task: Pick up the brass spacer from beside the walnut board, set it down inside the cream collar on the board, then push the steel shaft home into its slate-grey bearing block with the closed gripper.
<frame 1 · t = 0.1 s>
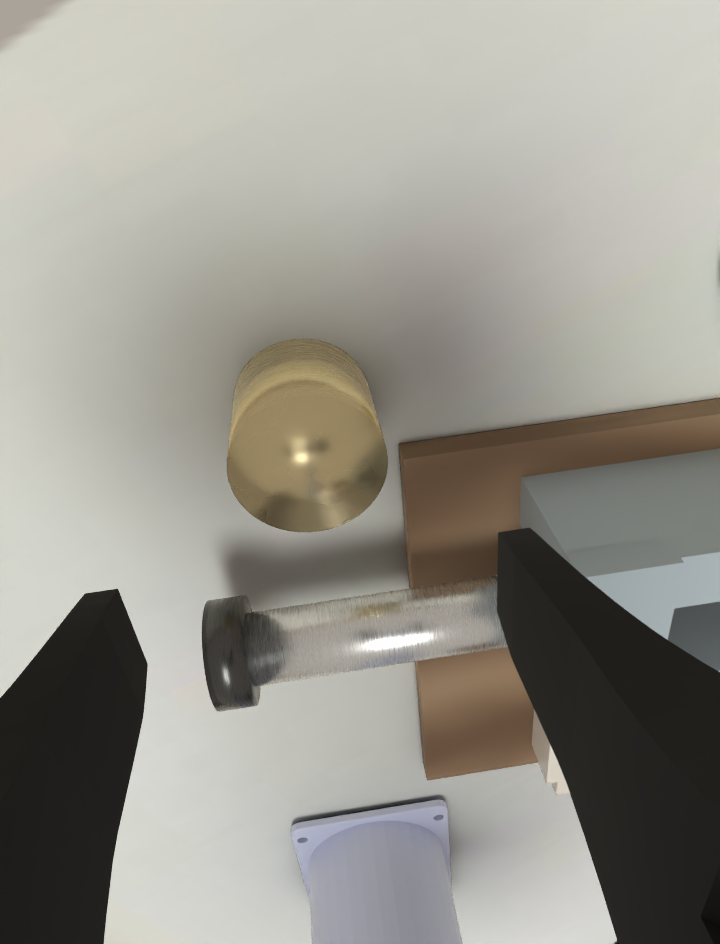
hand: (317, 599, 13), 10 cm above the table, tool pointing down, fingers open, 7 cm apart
shaft: (408, 625, 23), point 3 cm above the table, slide at 7.0 cm
brass spacer: (302, 403, 22), on the table
bearing block: (648, 538, 25), resting on walnut board
walnut board: (601, 601, 28), on the table
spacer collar: (622, 688, 30), resting on walnut board
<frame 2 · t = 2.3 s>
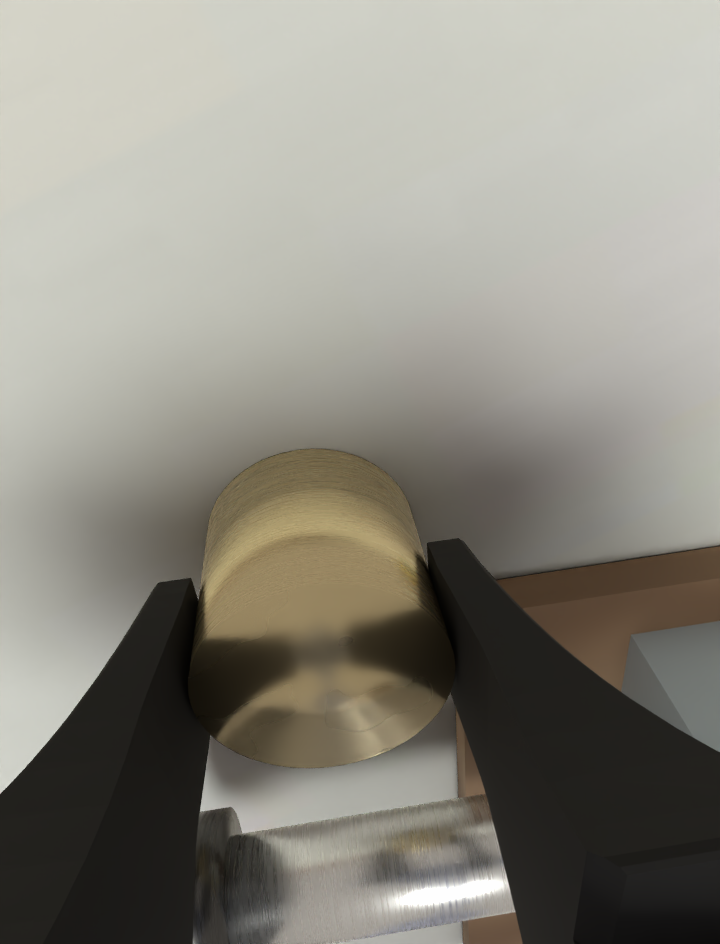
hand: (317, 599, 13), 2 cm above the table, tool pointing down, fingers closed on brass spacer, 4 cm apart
shaft: (467, 855, 15), point 4 cm above the table, slide at 7.0 cm
brass spacer: (311, 537, 15), on the table, touching gripper
walnut board: (712, 764, 21), on the table
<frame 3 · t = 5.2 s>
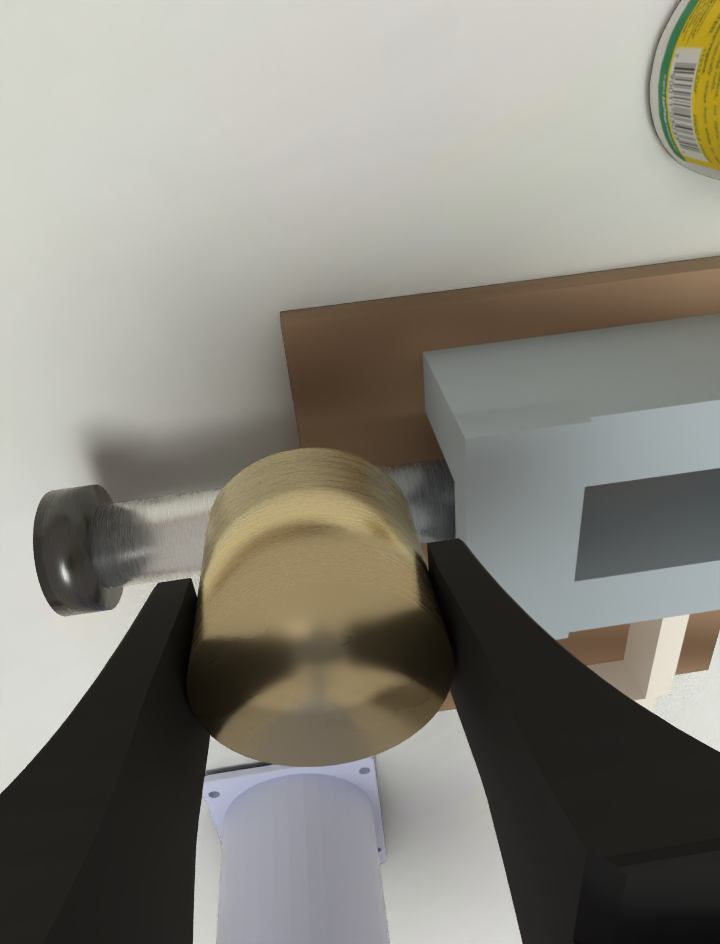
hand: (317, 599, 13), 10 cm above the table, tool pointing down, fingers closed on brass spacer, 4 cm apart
shaft: (289, 520, 20), point 3 cm above the table, slide at 7.0 cm
brass spacer: (310, 536, 14), point 8 cm above the table, touching gripper
bearing block: (577, 434, 22), resting on walnut board
walnut board: (531, 517, 25), on the table
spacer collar: (559, 619, 27), resting on walnut board
when the fingers open (4 cm above the table, at t = 8.0 s): brass spacer drops 1 cm, resting on walnut board.
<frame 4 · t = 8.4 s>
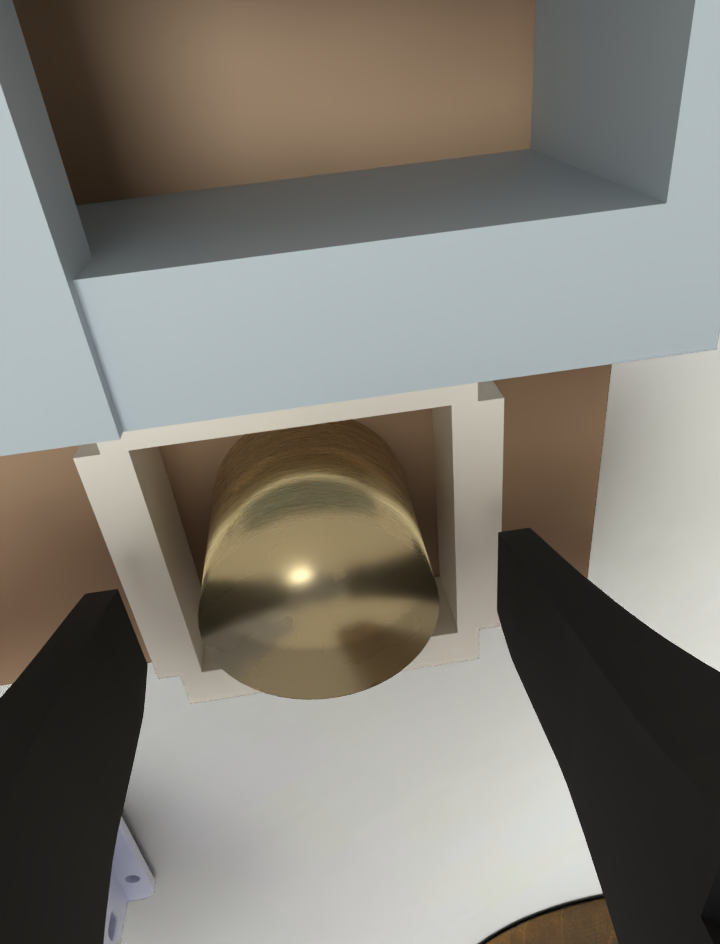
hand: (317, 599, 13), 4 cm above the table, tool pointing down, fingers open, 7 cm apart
brass spacer: (310, 496, 16), point 1 cm above the table, touching walnut board
bearing block: (237, 79, 11), resting on walnut board
walnut board: (229, 303, 14), on the table
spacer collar: (308, 498, 16), resting on walnut board
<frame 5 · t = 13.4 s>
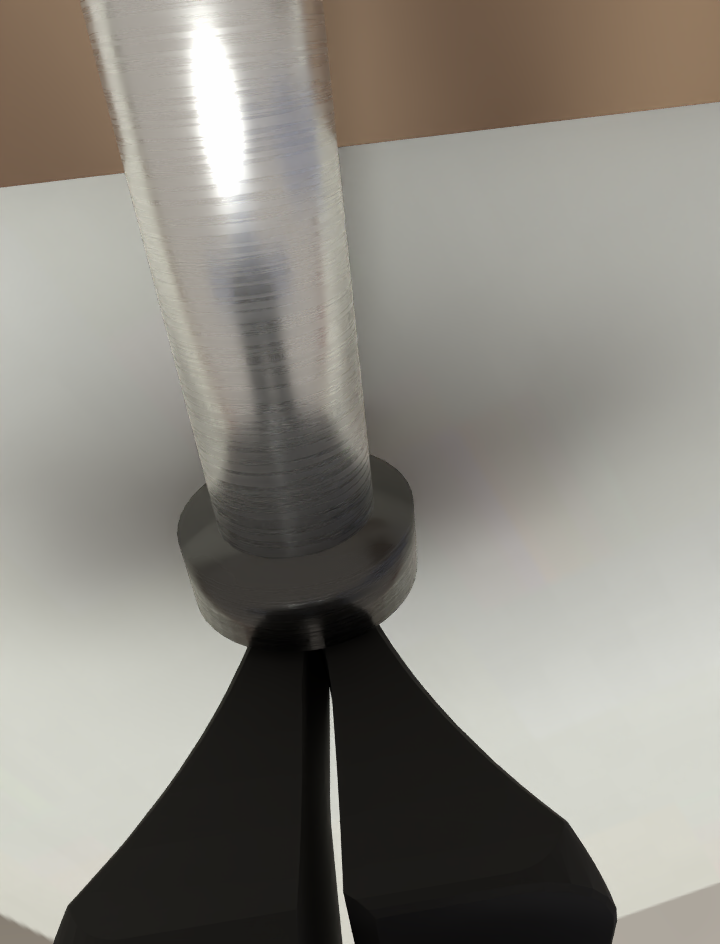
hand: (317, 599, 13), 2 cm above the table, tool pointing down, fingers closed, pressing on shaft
shaft: (225, 116, 7), point 3 cm above the table, slide at 5.7 cm, touching gripper
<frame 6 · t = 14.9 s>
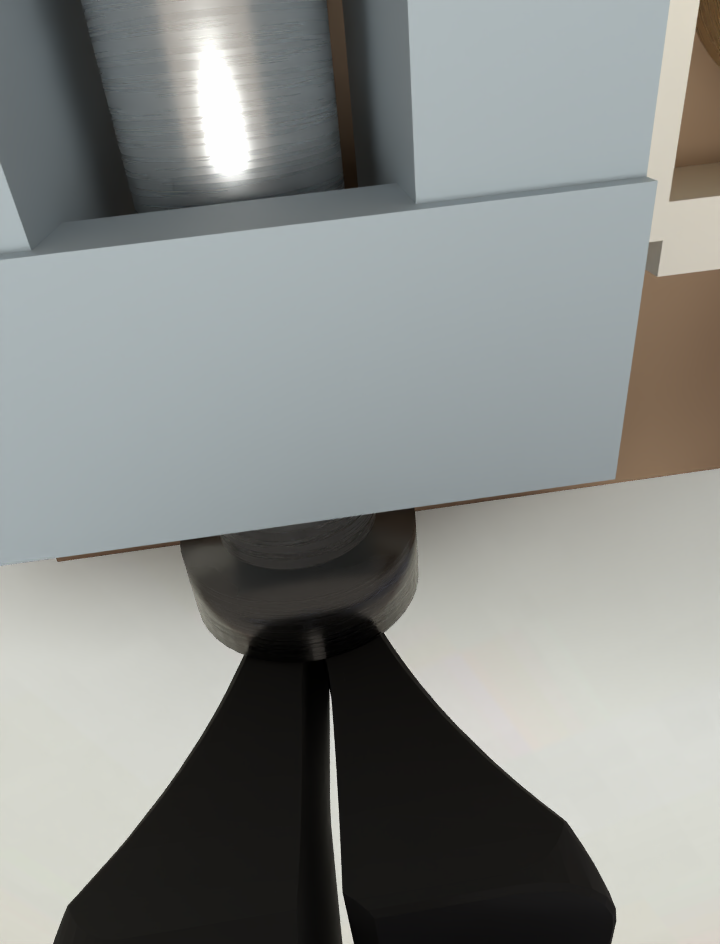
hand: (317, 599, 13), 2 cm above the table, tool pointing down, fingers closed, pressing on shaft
shaft: (230, 132, 7), point 4 cm above the table, slide at -1.0 cm, touching gripper
walnut board: (496, 35, 10), on the table
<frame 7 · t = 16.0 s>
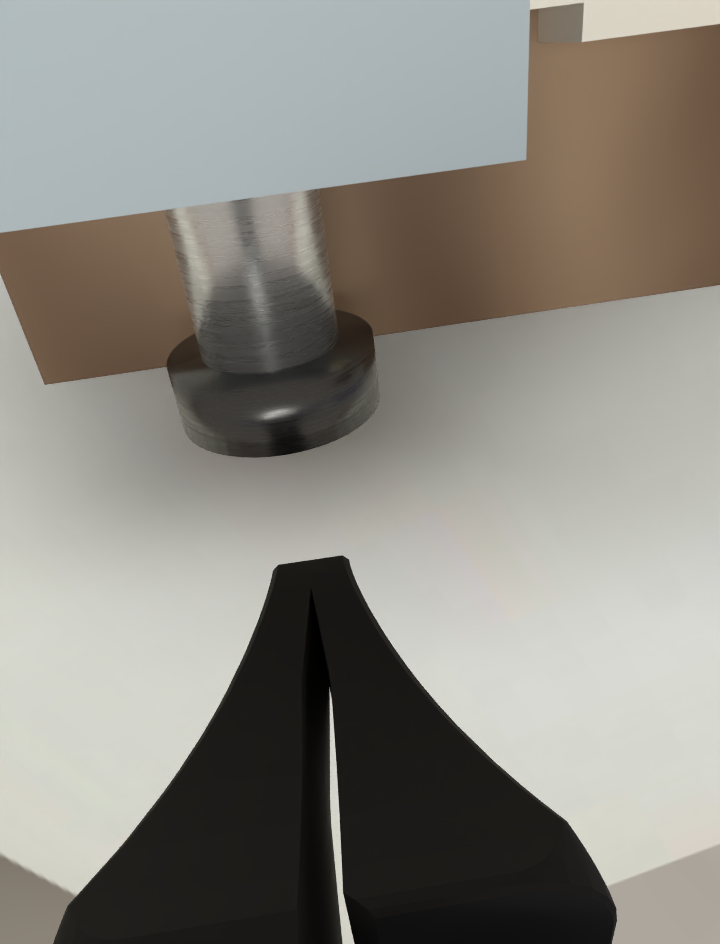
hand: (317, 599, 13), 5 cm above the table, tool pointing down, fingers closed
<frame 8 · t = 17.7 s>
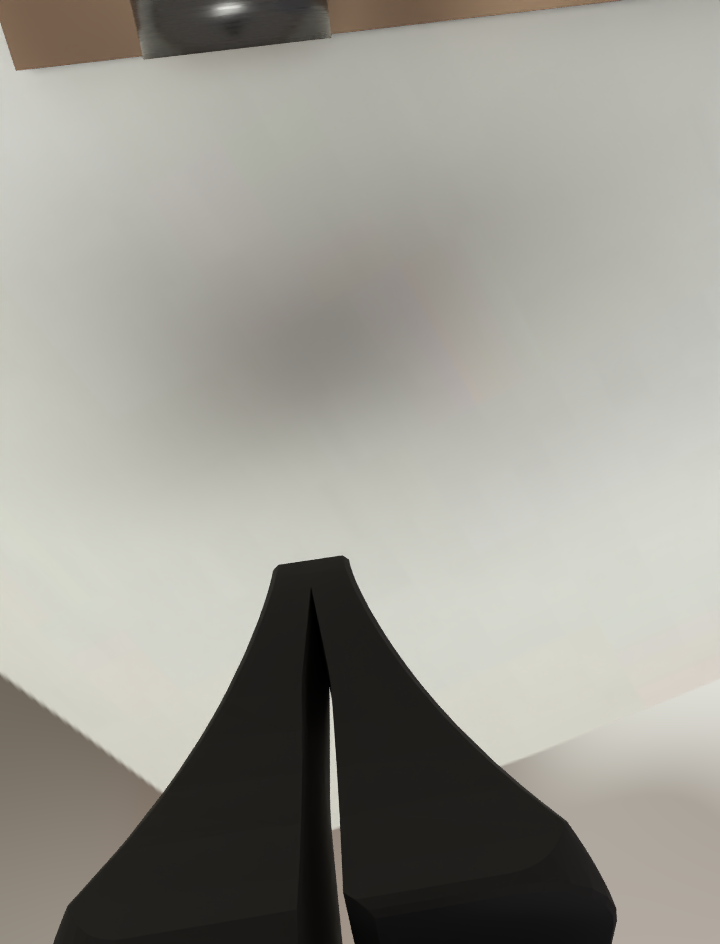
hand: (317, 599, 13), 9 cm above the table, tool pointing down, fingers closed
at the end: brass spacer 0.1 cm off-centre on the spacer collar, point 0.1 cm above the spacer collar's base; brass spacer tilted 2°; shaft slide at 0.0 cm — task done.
